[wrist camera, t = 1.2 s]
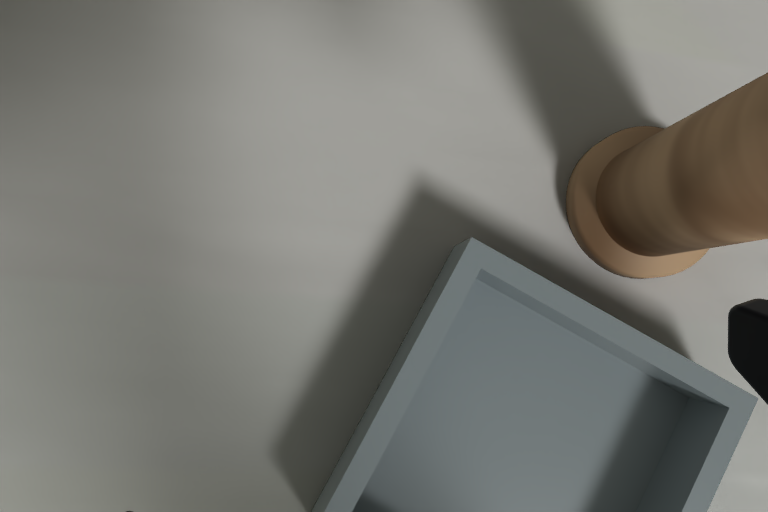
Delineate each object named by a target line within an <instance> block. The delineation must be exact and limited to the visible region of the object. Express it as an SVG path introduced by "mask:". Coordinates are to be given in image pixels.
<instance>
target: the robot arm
mask: <svg viewBox="0 0 768 512" xmlns="http://www.w3.org/2000/svg"><path fill="white" fill-rule="evenodd" d="M728 354H729V358H730V360H731V362H732V364H733V365H734V367H735V368H736V370H737V371H738V372H739V373H740V374H741V375H742V376H743V377H744V379H745V380H746V381H747V382H748V383H749V384H750V385H751V386H752V388H753V389H754V390H755V391H756V392H757V393H758V394H759V395H760V396H761V398H762V399H763V400H764V401H765V402H766V403H767V404H768V300H765V299H753V300H750V301H747V302H744V303H741V304H738V305H735V306H734V307H733V308H731V310H730V312H729V315H728ZM127 512H132V511H127Z"/></svg>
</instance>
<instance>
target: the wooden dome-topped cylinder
mask: <svg viewBox="0 0 768 512" xmlns="http://www.w3.org/2000/svg"><path fill="white" fill-rule="evenodd" d="M566 211H567V217H568V221H569V225H570V228H571V230H572V233H573V235H574V237H575V239H576V241H577V243H578V244H579V245H580V247H581V248H582V250H583V251H584V252H585V253H586V254H587V255H588V256H589V258H591V259H592V260H593V261H594V262H595V263H596V264H598V265H599V266H601V267H602V268H604V269H606V270H608V271H610V272H612V273H614V274H617V275H620V276H623V277H629V278H638V279H643V278H654V277H664V276H669V275H673V274H676V273H678V272H681V271H683V270H685V269H687V268H689V267H691V266H692V265H693V264H695V263H696V262H697V261H699V260H700V259H701V258H702V257H703V256H704V255H705V254H706V252H707V251H708V250H709V248H713V247H719V246H726V245H732V244H738V243H744V242H750V241H756V240H762V239H768V73H766V74H764V75H762V76H761V77H759V78H757V79H755V80H753V81H752V82H750V83H748V84H746V85H744V86H742V87H741V88H739V89H737V90H735V91H733V92H731V93H730V94H728V95H726V96H724V97H722V98H720V99H719V100H717V101H715V102H713V103H711V104H709V105H708V106H706V107H704V108H702V109H700V110H698V111H697V112H695V113H693V114H691V115H689V116H687V117H686V118H684V119H682V120H680V121H678V122H676V123H675V124H673V125H671V126H669V127H667V128H665V129H663V128H658V127H651V126H639V127H632V128H627V129H624V130H621V131H618V132H616V133H614V134H612V135H610V136H609V137H607V138H605V139H604V140H602V141H601V142H599V143H598V144H596V145H595V146H593V147H592V148H591V149H590V150H588V151H587V152H586V153H585V154H584V155H583V157H582V158H581V159H580V160H579V162H578V163H577V165H576V166H575V168H574V170H573V172H572V175H571V177H570V180H569V183H568V187H567V194H566Z"/></svg>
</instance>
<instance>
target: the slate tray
mask: <svg viewBox="0 0 768 512" xmlns="http://www.w3.org/2000/svg"><path fill="white" fill-rule="evenodd" d="M757 400H758V398H757V397H755V396H753V395H752V394H750V393H748V392H746V391H744V390H743V389H741V388H739V387H737V386H736V385H734V384H732V383H730V382H728V381H727V380H725V379H723V378H721V377H720V376H718V375H716V374H714V373H712V372H711V371H709V370H707V369H705V368H704V367H702V366H700V365H698V364H696V363H695V362H693V361H691V360H689V359H688V358H686V357H684V356H682V355H680V354H679V353H677V352H675V351H673V350H672V349H670V348H668V347H666V346H664V345H663V344H661V343H659V342H657V341H656V340H654V339H652V338H650V337H649V336H647V335H645V334H643V333H641V332H640V331H638V330H636V329H634V328H633V327H631V326H629V325H627V324H625V323H624V322H622V321H620V320H618V319H617V318H615V317H613V316H611V315H609V314H608V313H606V312H604V311H602V310H601V309H599V308H597V307H595V306H593V305H592V304H590V303H588V302H586V301H585V300H583V299H581V298H579V297H577V296H576V295H574V294H572V293H570V292H569V291H567V290H565V289H563V288H561V287H560V286H558V285H556V284H554V283H553V282H551V281H549V280H547V279H545V278H544V277H542V276H540V275H538V274H537V273H535V272H533V271H531V270H529V269H528V268H526V267H524V266H522V265H521V264H519V263H517V262H515V261H513V260H512V259H510V258H508V257H506V256H505V255H503V254H501V253H499V252H497V251H496V250H494V249H492V248H490V247H489V246H487V245H485V244H483V243H482V242H480V241H478V240H476V239H474V238H473V237H471V238H469V239H467V240H465V241H463V242H461V243H460V244H458V245H456V246H454V248H453V250H452V252H451V254H450V255H449V257H448V259H447V261H446V263H445V265H444V267H443V268H442V270H441V272H440V274H439V276H438V278H437V280H436V281H435V283H434V285H433V287H432V289H431V291H430V292H429V294H428V296H427V298H426V300H425V302H424V304H423V305H422V307H421V309H420V311H419V313H418V315H417V317H416V318H415V320H414V322H413V324H412V326H411V328H410V330H409V331H408V333H407V335H406V337H405V339H404V341H403V343H402V344H401V346H400V348H399V350H398V352H397V354H396V356H395V357H394V359H393V361H392V363H391V365H390V367H389V368H388V370H387V372H386V374H385V376H384V378H383V380H382V381H381V383H380V385H379V387H378V389H377V391H376V393H375V394H374V396H373V398H372V400H371V402H370V404H369V406H368V407H367V409H366V411H365V413H364V415H363V417H362V419H361V420H360V422H359V424H358V426H357V428H356V430H355V431H354V433H353V435H352V437H351V439H350V441H349V443H348V444H347V446H346V448H345V450H344V452H343V454H342V456H341V457H340V459H339V461H338V463H337V465H336V467H335V469H334V470H333V472H332V474H331V476H330V478H329V480H328V482H327V483H326V485H325V487H324V489H323V491H322V493H321V495H320V496H319V498H318V500H317V502H316V504H315V506H314V507H313V509H312V511H311V512H707V510H708V508H709V506H710V504H711V501H712V499H713V497H714V495H715V493H716V490H717V488H718V486H719V484H720V482H721V479H722V477H723V475H724V473H725V471H726V468H727V466H728V464H729V462H730V460H731V457H732V455H733V453H734V451H735V449H736V446H737V444H738V442H739V440H740V438H741V436H742V433H743V431H744V429H745V427H746V425H747V422H748V420H749V418H750V416H751V414H752V411H753V409H754V407H755V405H756V403H757Z"/></svg>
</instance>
